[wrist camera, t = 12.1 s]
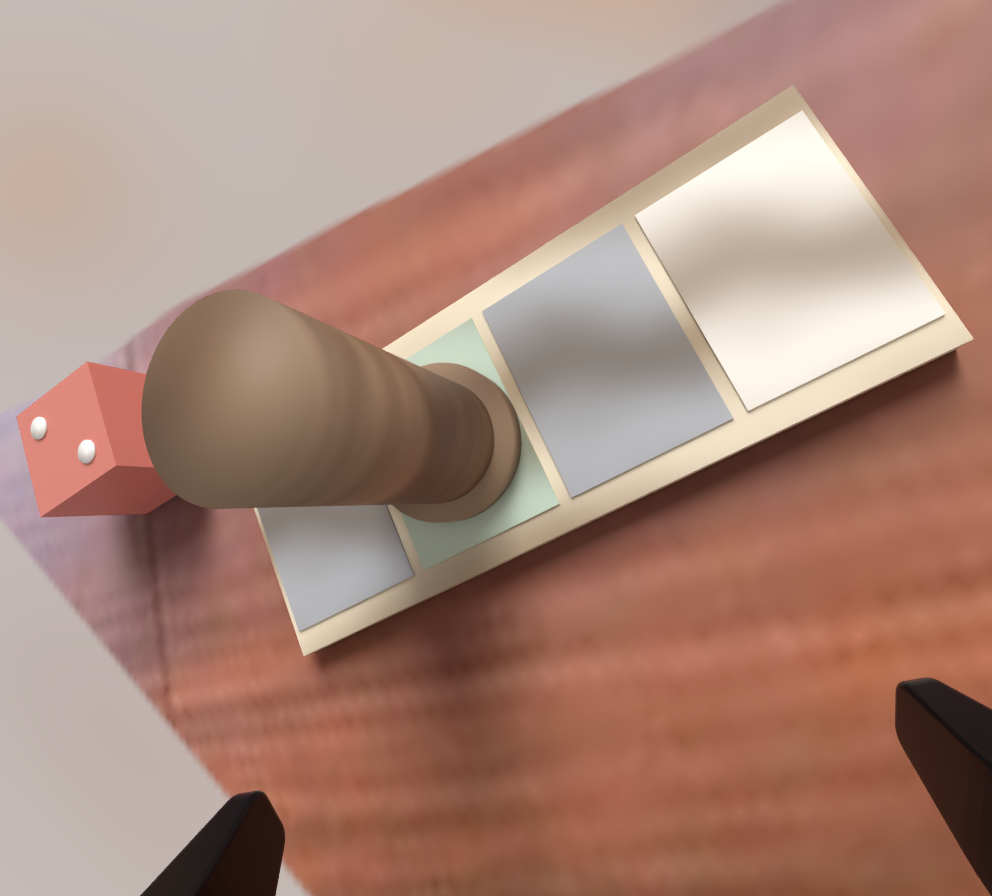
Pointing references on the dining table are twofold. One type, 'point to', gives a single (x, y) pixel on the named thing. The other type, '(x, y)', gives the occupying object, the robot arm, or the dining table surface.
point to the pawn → (318, 417)
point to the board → (642, 358)
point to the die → (91, 446)
